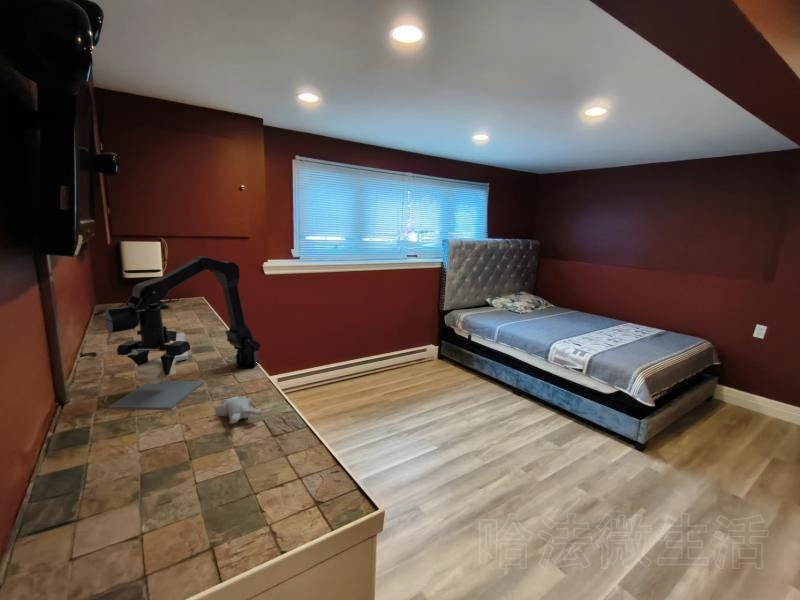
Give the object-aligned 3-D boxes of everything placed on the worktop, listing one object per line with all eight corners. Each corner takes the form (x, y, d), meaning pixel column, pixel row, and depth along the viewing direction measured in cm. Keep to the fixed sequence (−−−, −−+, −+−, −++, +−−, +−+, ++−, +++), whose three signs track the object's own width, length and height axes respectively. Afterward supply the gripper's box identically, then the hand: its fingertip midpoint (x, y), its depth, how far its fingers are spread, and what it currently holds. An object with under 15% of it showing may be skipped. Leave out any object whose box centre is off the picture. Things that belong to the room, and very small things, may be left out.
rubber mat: (204, 382, 121) (204, 381, 121) (171, 409, 103) (170, 407, 103) (150, 382, 121) (150, 380, 121) (107, 408, 103) (107, 406, 103)
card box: (156, 383, 107) (154, 367, 106) (139, 382, 108) (137, 366, 107) (175, 373, 115) (174, 358, 114) (160, 372, 115) (158, 357, 114)
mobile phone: (184, 332, 159) (187, 347, 138) (186, 345, 160) (189, 362, 139) (168, 334, 156) (169, 350, 135) (170, 347, 157) (171, 365, 136)
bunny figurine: (244, 389, 108) (264, 402, 96) (246, 406, 108) (266, 420, 97) (209, 399, 101) (226, 413, 90) (212, 416, 102) (228, 433, 91)
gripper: (197, 318, 116) (202, 365, 119) (139, 318, 116) (145, 364, 119) (176, 328, 105) (182, 379, 108) (111, 327, 105) (119, 378, 108)
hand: (157, 374), depth 111 cm, fingers closed on card box, 6 cm apart
